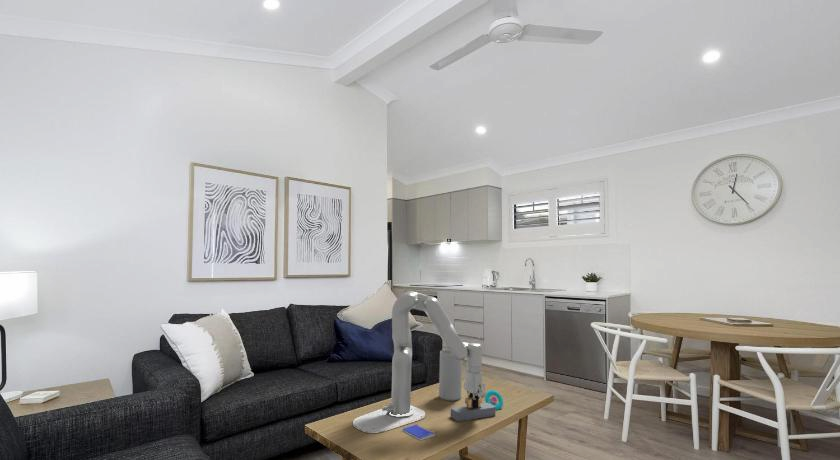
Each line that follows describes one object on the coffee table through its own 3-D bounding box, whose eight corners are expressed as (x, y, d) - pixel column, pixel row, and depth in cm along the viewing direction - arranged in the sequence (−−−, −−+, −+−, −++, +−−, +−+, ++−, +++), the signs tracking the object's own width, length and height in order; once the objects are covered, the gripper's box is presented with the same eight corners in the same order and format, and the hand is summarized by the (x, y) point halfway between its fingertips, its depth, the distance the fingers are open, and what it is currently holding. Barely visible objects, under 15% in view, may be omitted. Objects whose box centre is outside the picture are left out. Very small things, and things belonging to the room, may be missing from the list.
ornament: (500, 396, 228) (483, 391, 228) (503, 393, 225) (486, 387, 225) (499, 415, 220) (481, 409, 220) (502, 412, 217) (484, 406, 217)
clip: (468, 413, 205) (468, 399, 206) (464, 411, 208) (465, 397, 209) (481, 411, 209) (481, 397, 210) (478, 409, 212) (478, 395, 212)
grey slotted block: (458, 421, 200) (458, 412, 201) (450, 416, 207) (450, 408, 207) (495, 415, 210) (495, 406, 211) (487, 410, 216) (487, 402, 217)
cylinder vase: (461, 394, 242) (462, 350, 243) (461, 401, 229) (462, 355, 231) (439, 393, 243) (440, 349, 245) (438, 400, 230) (439, 353, 232)
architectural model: (474, 396, 239) (475, 383, 240) (480, 393, 245) (480, 380, 246) (480, 398, 238) (480, 384, 238) (485, 395, 243) (485, 382, 244)
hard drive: (434, 433, 184) (416, 424, 193) (420, 437, 178) (402, 428, 188) (434, 436, 184) (416, 427, 193) (420, 441, 178) (402, 432, 188)
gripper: (458, 365, 216) (458, 402, 214) (477, 373, 201) (476, 412, 200) (471, 364, 219) (470, 400, 218) (489, 372, 205) (489, 410, 203)
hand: (473, 406), depth 209 cm, fingers closed on clip, 3 cm apart
